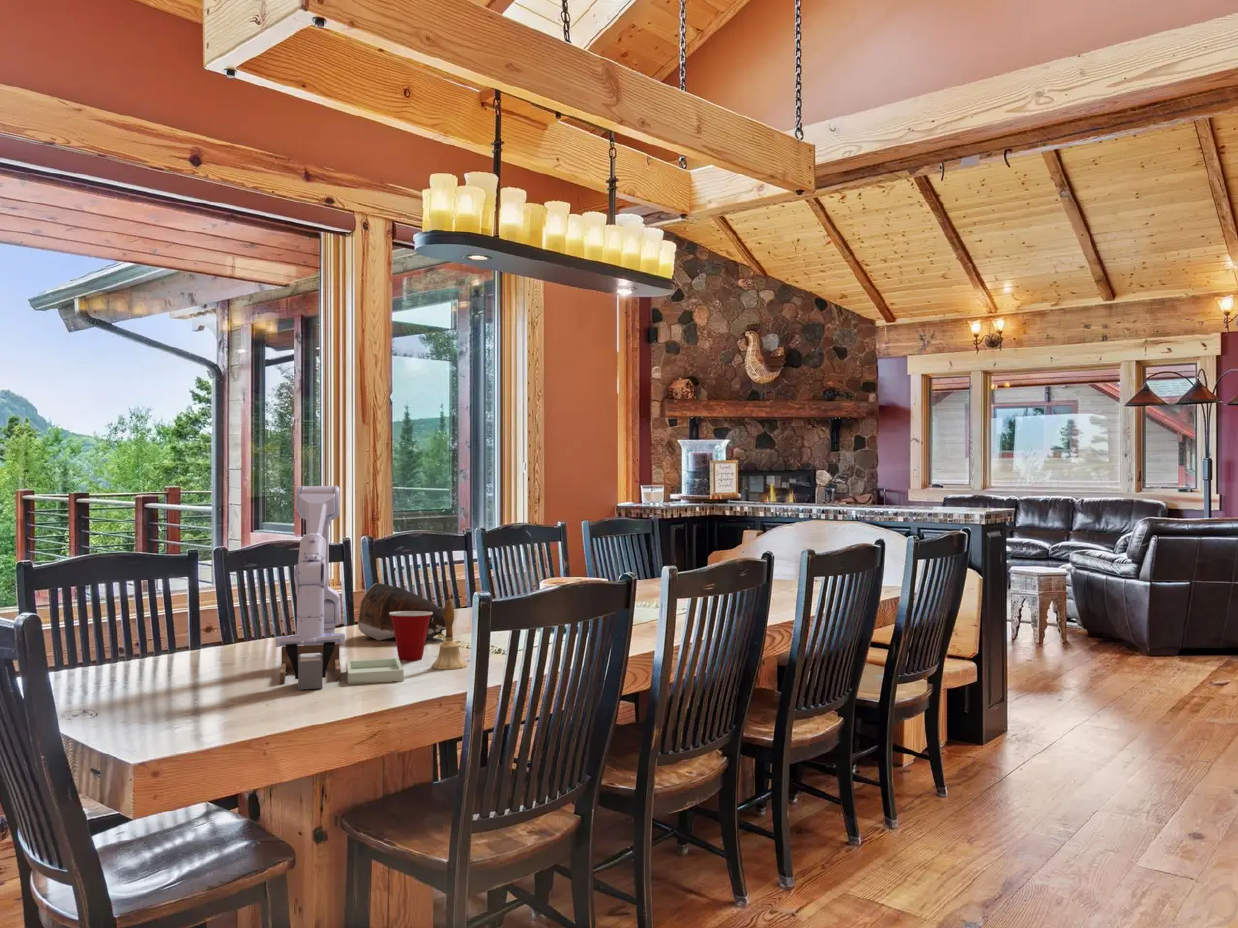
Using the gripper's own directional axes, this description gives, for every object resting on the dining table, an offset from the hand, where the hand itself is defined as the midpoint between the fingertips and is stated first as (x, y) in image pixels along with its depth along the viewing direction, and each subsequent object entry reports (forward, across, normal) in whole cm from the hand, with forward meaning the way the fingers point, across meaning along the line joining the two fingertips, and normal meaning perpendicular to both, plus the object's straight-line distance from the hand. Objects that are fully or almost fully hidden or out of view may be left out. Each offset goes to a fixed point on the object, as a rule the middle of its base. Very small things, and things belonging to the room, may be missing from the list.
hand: (310, 677), depth 209 cm
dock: (+2, 0, +10) cm, 10 cm away
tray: (+2, +14, +6) cm, 15 cm away
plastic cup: (+2, +24, +24) cm, 34 cm away
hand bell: (+2, +32, +12) cm, 34 cm away
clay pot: (+2, +26, +52) cm, 58 cm away
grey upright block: (+2, 0, 0) cm, 2 cm away
